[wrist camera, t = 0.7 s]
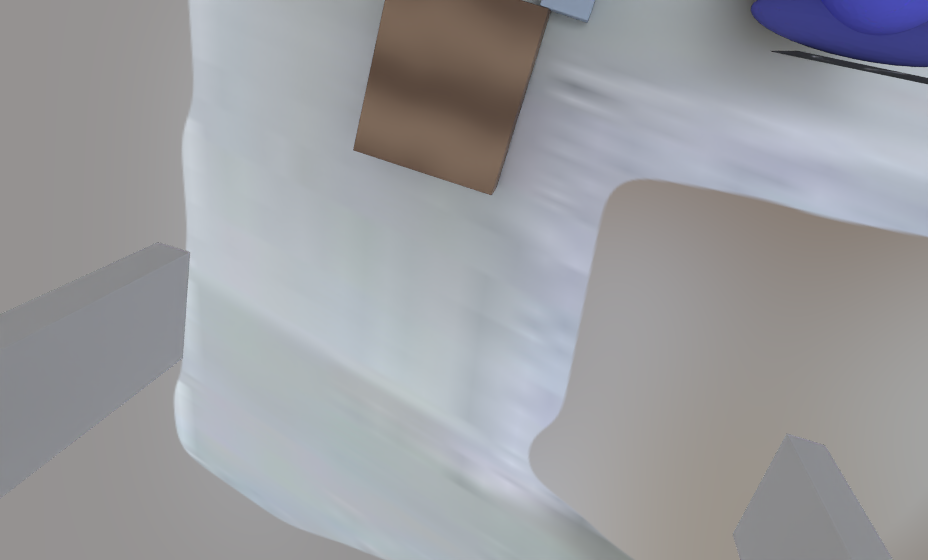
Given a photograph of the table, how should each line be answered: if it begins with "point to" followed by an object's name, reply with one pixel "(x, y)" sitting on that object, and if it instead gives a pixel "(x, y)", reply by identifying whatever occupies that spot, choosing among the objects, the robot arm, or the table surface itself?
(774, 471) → the robot arm
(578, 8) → the brick blue
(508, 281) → the table surface
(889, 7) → the toy
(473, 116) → the slab
